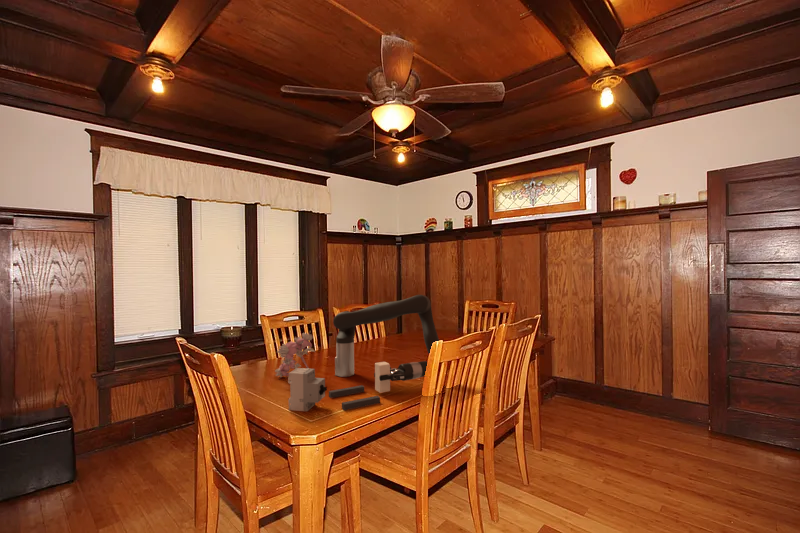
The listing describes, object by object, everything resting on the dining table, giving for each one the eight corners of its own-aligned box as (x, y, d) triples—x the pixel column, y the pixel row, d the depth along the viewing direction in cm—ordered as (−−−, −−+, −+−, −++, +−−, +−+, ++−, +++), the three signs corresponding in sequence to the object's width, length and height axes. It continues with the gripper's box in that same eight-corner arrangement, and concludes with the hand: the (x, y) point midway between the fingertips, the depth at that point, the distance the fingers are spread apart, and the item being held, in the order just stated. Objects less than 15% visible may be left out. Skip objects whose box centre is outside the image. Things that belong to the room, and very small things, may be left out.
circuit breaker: (321, 412, 153) (321, 374, 152) (288, 410, 155) (288, 372, 155) (329, 405, 160) (328, 369, 160) (297, 403, 163) (296, 367, 163)
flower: (305, 365, 219) (285, 327, 211) (331, 367, 204) (311, 327, 197) (278, 389, 204) (256, 350, 197) (304, 393, 190) (281, 351, 183)
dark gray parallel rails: (362, 390, 178) (362, 385, 178) (380, 403, 162) (380, 397, 162) (328, 396, 171) (328, 391, 171) (344, 410, 154) (343, 404, 154)
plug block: (385, 387, 177) (384, 361, 176) (390, 390, 172) (389, 364, 172) (375, 389, 174) (374, 363, 174) (380, 392, 170) (379, 365, 170)
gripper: (402, 359, 186) (370, 364, 178) (418, 366, 174) (384, 372, 165) (402, 375, 186) (370, 380, 178) (418, 383, 174) (384, 389, 166)
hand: (377, 376), depth 172 cm, fingers closed on plug block, 5 cm apart
